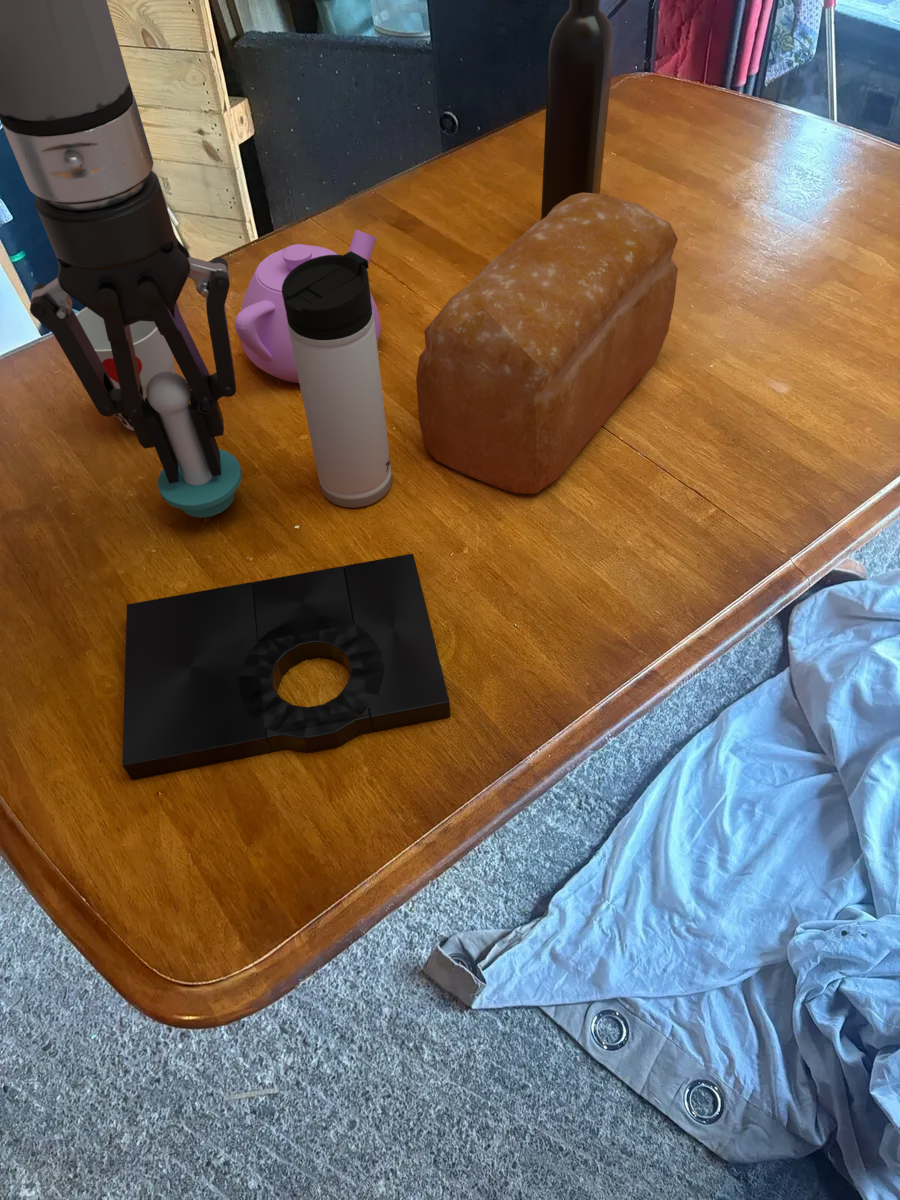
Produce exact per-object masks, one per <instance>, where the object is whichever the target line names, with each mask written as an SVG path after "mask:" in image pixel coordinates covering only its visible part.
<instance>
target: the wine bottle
mask: <svg viewBox="0 0 900 1200" xmlns="http://www.w3.org/2000/svg"><path fill="white" fill-rule="evenodd" d="M600 2H601V0H570V1H569V9H568V10H567V11H566V12H565V14H564V15H563V16H562V18H561V19H560V20H559V22H558V23H557V25H556V26H555V29H554V31H553V33H552V36H551V40H550V44H549V49H548V59H547V80H546V81H547V83H546V99H545V100H546V101H545V102H546V104H545V120H544V121H545V122H544V123H545V124H544V125H545V126H544V143H543V145H544V146H543V163H542V165H543V166H542V185H541V186H542V190H541V207H540V208H541V209H540V211H541V212H540V220H542V219H543V218H545V217H546V216H547V215H548V214H549V212H550V211H551V210H552V209H553V207H554V206H556V205H557V204H559V203H560V202H562V201H563V200H565V199H566V198H568V197H569V196H571V195H575V194H578V193H595V194H601V185H602V173H603V166H604V165H603V164H604V154H605V153H604V152H605V144H606V134H607V124H608V112H609V102H610V94H611V93H610V92H611V83H612V72H613V62H614V51H615V38H614V37H615V36H614V29H613V26H612V23H611V20H610V19H609V18H608V16H607V15H606V14H605V13H604V12H603V11H602V10H601V8H600V6H601V5H600V4H601V3H600Z"/></svg>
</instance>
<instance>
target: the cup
mask: <svg viewBox="0 0 900 1200" xmlns="http://www.w3.org/2000/svg"><path fill="white" fill-rule="evenodd" d="M75 315H76V317H77V318H78V320H79V322H80V324H81V326H82V328H83V329H84V331H85V333H86V335H87V337H88V339H89V340H90V342H91V344H92V346H93V348H94V349H95V351H96V353H97V355H98V357H99V359H100V360H101V362H102V364H103V366H104V368H105V370H106V371H107V373H108V375H109V377H110V379H111V381H112V382H113V384H114V386H115V388H116V389H120V386H119V381H118V377H117V372H116V368H115V363H114V359H113V354H112V350H111V345H110V342H109V341H108V337H107V333H106V328H105V324H104V319H103V318H101V317H100V316H98V315H97V314H96V313H94V312H93V311H91V310H90V309H89V308H87V307H86V306H85V307H84V308H82V309H81V310H80V311H78V312H77V313H75ZM129 326H130V330H131V335H132V340H133V345H134V350H135V355H136V360H137V365H138V370H139V375H140V380H141V385H142V387H143V398H144V401H145V398H147V395H146V388H147V385H148V382H149V381H150V379H151V378H152V377H153V376H154V375H156V374H158V373H160V372H166V371H169V372H174V373H176V368H175V362H174V356H173V354H172V352H171V350H170V348H169V346H168V344H167V342H166V340H165V338H164V336H162V335H161V334H160V332H159V330H158V328H157V327H156V325H155V323H154V322H150V321H138V322H136V323H133V324H131V325H129ZM113 416H115V417H116V418H117V419H118V421H120V422H121V424H122V425H123V426H124V427H125V428H126V429H127V430H129V431H132V432H135V431H134V428H133V426H132V423H131V421H130V419H129V418H128V417H127V416H125V415H123V414H118V413H114V415H113Z"/></svg>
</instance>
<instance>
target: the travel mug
mask: <svg viewBox="0 0 900 1200" xmlns="http://www.w3.org/2000/svg"><path fill="white" fill-rule="evenodd" d="M366 268H367V269H366ZM368 269H369V264H368V260H366V259H365V258H363V257H361V256H359V255H357V254H356V253H354V252H352V251H350V252H348V251H347V252H346V253H344V254H338V255H325V256H320V257H316V258H313V259H310V260H308V261H305V262H304V263H302V264H300V265H298V266H297V267H296V268H294V269H293V270H292V271H291V272H290V273H289V274H288V275H287V277H286V278H285V280H284V282H283V285H282V295H283V300H284V305H285V310H286V315H287V324H288V328H289V334H290V339H291V344H292V349H293V354H294V359H295V364H296V369H297V374H298V378H299V383H298V384H299V388H300V393H301V398H302V403H303V408H304V413H305V417H306V422H307V423H306V424H307V427H308V433H309V438H310V442H311V448H312V452H313V457H314V462H315V468H316V473H317V476H318V483H319V487H320V490H321V493H322V494H323V496H324V497H325V498H326V499H327V501H329V502H331V503H333V504H334V505H337V506H339V507H344V508H351V509H353V508H354V509H355V508H362V507H368V506H370V505H372V504H374V503H377V502H379V501H380V500H381V499H383V498H384V497H385V496H386V495H387V494H388V492H389V491H390V489H391V487H392V484H393V474H392V473H393V472H392V466H391V455H390V447H389V445H390V444H389V437H388V429H387V428H388V427H387V421H386V411H385V403H384V402H385V401H384V394H383V386H382V385H383V384H382V377H381V368H380V359H379V358H380V357H379V352H378V351H379V350H378V343H377V341H376V332H375V323H374V315H373V309H372V304H371V295H372V294H371V295H370V293H371V287H370V281H369V280H370V278H369V271H368Z"/></svg>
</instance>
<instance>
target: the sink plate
mask: <svg viewBox="0 0 900 1200" xmlns="http://www.w3.org/2000/svg"><path fill="white" fill-rule="evenodd" d="M416 563H417V562H416V559H415V556H414V553H408V554H402V555H396V556H391V557H385V558H380V559H374V560H369V561H363V562H357V563H352V564H345V565H342V566H341V565H340V566H335V567H329V568H323V569H317V570H313V571H308V572H301V573H296V574H290V575H285V576H279V577H274V578H273V577H272V578H267V579H262V580H261V579H260V580H255V581H250V582H244V583H239V584H233V585H228V586H222V587H215V588H210V589H205V590H199V591H193V592H188V593H182V594H177V595H171V596H166V597H165V596H164V597H160V598H159V597H158V598H155V599H149V600H144V601H137V602H132V603H127V604H126V619H125V620H126V622H125V623H126V624H125V653H124V654H125V656H124V659H125V660H124V687H123V688H124V693H123V695H124V696H123V725H122V726H123V727H122V728H123V730H122V761H121V763H122V765H121V766H122V768H123V769H124V771H125V772H126V774H127V776H128V777H129V778H130V780H131V781H135V780H139V779H145V778H150V777H154V776H159V775H164V774H165V775H166V774H169V773H175V772H179V771H184V770H190V769H196V768H200V767H205V766H210V765H211V766H212V765H215V764H220V763H225V762H231V761H234V760H235V761H236V760H240V759H245V758H250V757H256V756H261V755H265V754H271V753H273V752H275V753H276V752H279V751H283V750H284V751H285V750H288V751H294V752H300V753H311V754H312V753H315V752H316V753H317V752H321V751H326V750H331V749H335V748H336V749H337V748H339V747H341V746H343V745H345V744H347V743H348V742H349V741H351V740H353V739H355V738H356V737H358V736H361V735H366V734H369V733H370V734H371V733H373V732H374V733H377V732H380V731H386V730H391V729H396V728H401V727H407V726H412V725H417V724H421V723H427V722H432V721H436V720H437V721H438V720H442V719H447V718H451V702H450V698H449V693H448V689H447V685H446V682H445V678H444V673H443V670H442V669H443V668H442V664H441V662H440V656H439V653H438V649H437V648H438V647H437V644H436V641H435V637H434V632H433V629H432V624H431V620H430V616H429V612H428V608H427V604H426V600H425V595H424V593H423V587H422V584H421V580H420V575H419V572H418V567H417V564H416ZM317 658H321V659H329V660H334V661H335V662H337V663H339V664H341V665H343V666H344V667H345V668H346V670H347V671H348V673H349V677H348V679H347V682H346V686H345V687H344V688H343V689H342V690H341V692H340V693H338V695H337V696H336V697H334V698H332V699H330V700H329V701H327V702H325V703H322V704H318V705H312V706H301V705H296V704H292V703H290V702H288V701H287V700H285V699H283V698H281V696H280V694H279V690H278V689H279V687H280V684H281V682H282V678H283V677H284V676H285V675H286V674H287V673H288V671H290V669H292V668H293V667H295V666H296V665H299V664H301V663H302V662H304V661H307V660H312V659H317Z"/></svg>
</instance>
